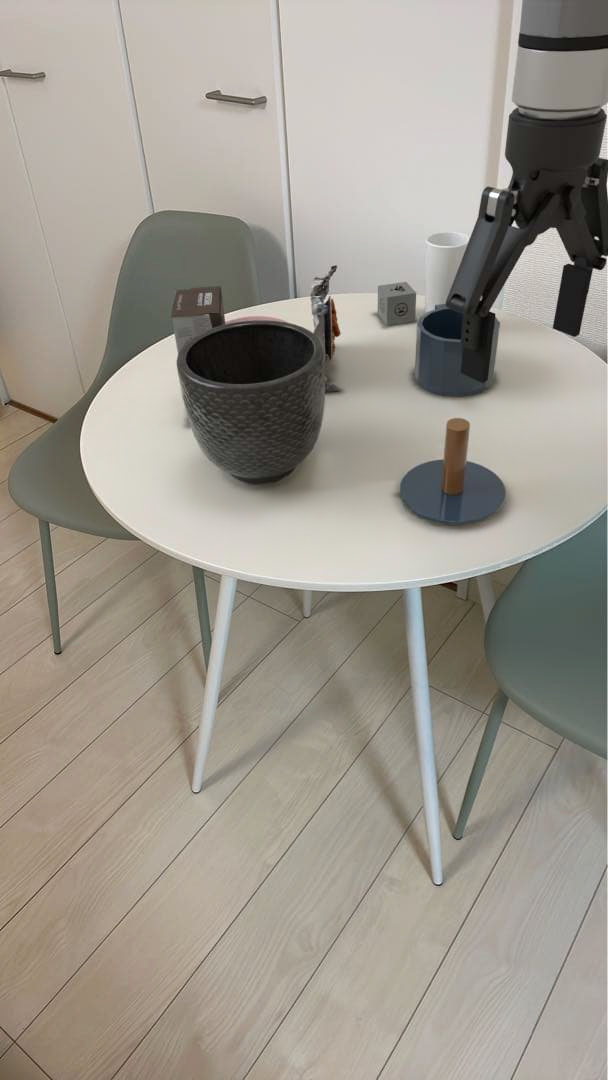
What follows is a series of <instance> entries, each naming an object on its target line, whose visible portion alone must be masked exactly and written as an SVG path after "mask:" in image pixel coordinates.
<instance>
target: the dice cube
mask: <svg viewBox="0 0 608 1080" xmlns="http://www.w3.org/2000/svg"><path fill="white" fill-rule="evenodd" d="M416 309H417V292H416V291H415V290H414V289H413V287H412V286H411V285H410V284H409V283H408V282H407V281H402V282H395V283H387V284H380V285H377V315H378V317H379V318H380V320H381V321H382V322H383V323H384V325H385V327H390V326H398V325H403V324H408V323H415V322H416V312H417V311H416Z"/></svg>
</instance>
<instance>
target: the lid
mask: <svg viewBox="0 0 608 1080" xmlns="http://www.w3.org/2000/svg"><path fill="white" fill-rule="evenodd" d="M470 429H471V424H470V422H469V421H468V420H467V419H465V418H461V417H454V418H451V419H449V420H447V422H446V425H445V437H444V449H443V450H444V451H443V459H435V460H434V459H433V460H430V461H426V462H423V463H421V464H417V465H416V466H414V467H412V468H411V469H410V470H408V471H407V473H405V474H404V475H403V477H402V479H401V481H400V483H399V496H400V499H401V501H402V503H403V504H404V505H405V507H406V508H407V509H408V510H409V511H411V512H412V513H413V514H415V515H416V516H418V517H420V518H421V519H424V520H427V521H430V522H432V523H437V524H442V525H449V526H450V525H451V526H465V525H471V524H476V523H480V522H483V521H486V520H487V519H489V518H491V517H493V516H494V515H496V514H497V513H498V512H499V511H500V510H501V509H502V507H503V505H504V503H505V500H506V497H507V495H506V492H507V491H506V486H505V484H504V482H503V481H502V479H501V478H500V477H499V476H498V474H496V473H495V472H494V471H492V470H490V468H487V467H485V466H483V465H481V464H479V463H476V462H473V461H468V460H467V459H468V458H467V457H468V450H469V449H468V448H469V440H470V432H471V431H470Z"/></svg>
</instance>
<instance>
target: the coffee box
mask: <svg viewBox="0 0 608 1080" xmlns="http://www.w3.org/2000/svg"><path fill="white" fill-rule="evenodd" d="M171 308H172V309H171V314H170V317H171V321H172V327H173V333H174V338H175V339H174V340H175V344H176V350H177V355H178V354H179V352H180V350H181V349H182V347H183V346H184V345H185V344H186V343H187V342H188V341H189V340H191V339H192V338H194V337H195V336H197V335H198V334H200V333H203V332H205V331H207V330H209V329H212V328H215V327H218V326H222V325H225V322H226V316H225V308H224V301H223V293H222V286H221V285H214V286H200V287H198V286H197V287H191V288H187V289H185V288H184V289H176V290H175V294H174V299H173V304H172V307H171Z"/></svg>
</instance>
